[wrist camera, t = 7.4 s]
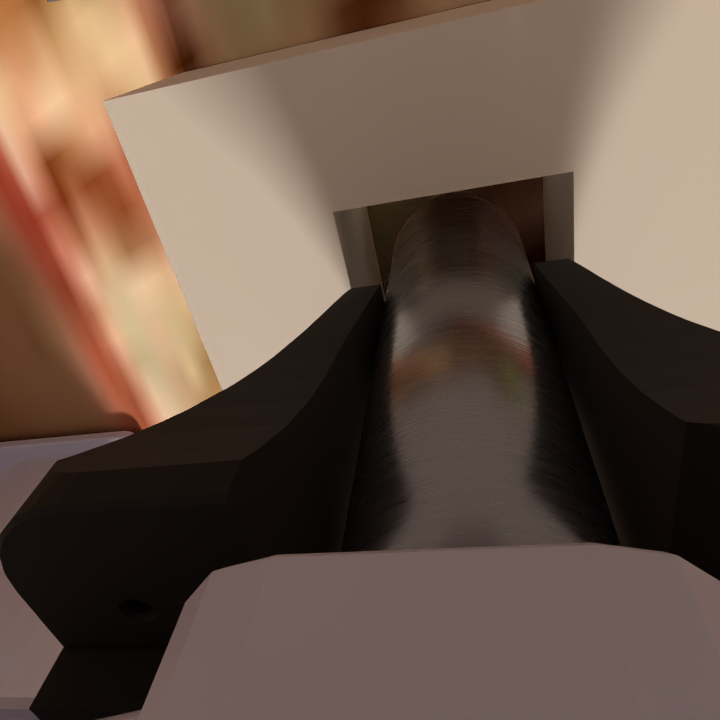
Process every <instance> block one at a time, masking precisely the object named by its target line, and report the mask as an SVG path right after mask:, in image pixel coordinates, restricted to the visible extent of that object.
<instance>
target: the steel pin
mask: <svg viewBox="0 0 720 720" xmlns="http://www.w3.org/2000/svg"><path fill="white" fill-rule="evenodd" d="M588 542H591V543H599V544H607V545H615V546H621V545H620V542H619V539H618V536H617V533H616V530H615V527H614V524H613V521H612V518H611V515H610V511H609V508H608V505H607V502H606V499H605V496H604V493H603V490H602V487H601V484H600V481H599V478H598V475H597V472H596V468H595V465H594V462H593V459H592V456H591V453H590V450H589V447H588V444H587V441H586V438H585V435H584V432H583V429H582V425H581V422H580V419H579V416H578V413H577V410H576V407H575V404H574V401H573V398H572V395H571V392H570V389H569V385H568V382H567V379H566V376H565V373H564V370H563V367H562V364H561V361H560V358H559V355H558V352H557V349H556V346H555V342H554V339H553V336H552V333H551V330H550V327H549V324H548V321H547V318H546V315H545V313H544V310H543V308H542V304H541V301H540V298H539V295H538V292H537V289H536V286H535V283H534V278H533V275H532V272H531V269H530V266H529V263H528V259H527V256H526V253H525V250H524V247H523V244H522V241H521V238H520V235H519V232H518V229H517V227H516V225H515V223H514V222H513V220H512V219H511V217H510V216H509V215H508V214H507V213H506V212H505V211H504V210H503V209H502V208H501V207H499V206H498V205H497V204H495V203H493V202H492V201H490V200H488V199H485V198H483V197H480V196H476V195H471V194H451V195H445V196H441V197H438V198H435V199H433V200H430V201H428V202H427V203H425V204H423V205H422V206H420V207H419V208H418V209H416V210H415V211H414V212H413V213H412V214H411V215H410V216H409V217H408V218H407V220H406V221H405V222H404V223H403V225H402V227H401V229H400V230H399V233H398V235H397V238H396V241H395V245H394V251H393V257H392V262H391V268H390V274H389V280H388V285H387V291H386V297H385V302H384V308H383V314H382V320H381V325H380V331H379V337H378V342H377V348H376V354H375V360H374V365H373V371H372V377H371V383H370V388H369V394H368V400H367V405H366V411H365V417H364V423H363V428H362V434H361V440H360V445H359V451H358V457H357V463H356V468H355V474H354V480H353V485H352V491H351V497H350V503H349V508H348V514H347V520H346V526H345V531H344V537H343V543H342V548H341V552H360V551H386V550H411V549H436V548H461V547H487V546H512V545H537V544H562V543H588Z"/></svg>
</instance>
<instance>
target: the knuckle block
mask: <svg viewBox="0 0 720 720" xmlns="http://www.w3.org/2000/svg"><path fill="white" fill-rule="evenodd" d="M103 102H104V105H105V107H106V109H107V112H108V114H109V117H110V119H111V122H112V124H113V126H114V129H115V131H116V134H117V136H118V139H119V141H120V143H121V146H122V148H123V151H124V153H125V155H126V158H127V160H128V163H129V165H130V168H131V170H132V172H133V175H134V177H135V180H136V182H137V185H138V187H139V189H140V192H141V194H142V197H143V199H144V201H145V204H146V206H147V209H148V211H149V214H150V216H151V218H152V221H153V223H154V226H155V228H156V231H157V233H158V235H159V238H160V240H161V243H162V245H163V247H164V250H165V252H166V255H167V257H168V260H169V262H170V264H171V267H172V269H173V272H174V274H175V276H176V279H177V281H178V284H179V286H180V289H181V291H182V293H183V296H184V298H185V301H186V303H187V306H188V308H189V310H190V313H191V315H192V318H193V320H194V322H195V325H196V327H197V330H198V332H199V335H200V337H201V339H202V342H203V344H204V347H205V349H206V352H207V354H208V356H209V359H210V361H211V364H212V366H213V368H214V371H215V373H216V376H217V378H218V381H219V383H220V385H221V388H222V390H225V389H226V388H228V387H230V386H232V385H233V384H235V383H236V382H238V381H240V380H241V379H243V378H244V377H246V376H247V375H249V374H250V373H252V372H253V371H255V370H256V369H258V368H259V367H260V366H262V365H263V364H264V363H266V362H267V361H269V360H270V359H271V358H272V357H274V356H275V355H276V354H277V353H279V352H280V351H281V350H282V349H283V348H285V347H286V346H287V345H288V344H289V343H291V342H292V341H293V340H294V339H295V338H297V337H298V336H299V335H300V334H301V333H302V332H304V331H305V330H306V329H307V328H308V327H309V326H310V325H311V324H312V323H313V322H314V321H315V320H317V319H318V318H319V317H320V316H321V315H322V314H323V313H324V312H325V311H326V310H327V309H328V308H329V307H330V306H331V305H332V304H333V303H335V302H336V301H337V300H338V299H339V298H340V297H341V296H342V295H343V294H344V293H346V292H347V291H348V290H350V289H351V288H358V287H365V286H372V285H380V284H381V288H382V292H383V297H384V302H385V294H384V289H383V284H382V279H381V274H380V269H379V265H378V260H377V255H376V250H375V245H374V240H373V235H372V230H371V225H370V220H369V215H368V210H367V206H371V205H377V204H383V203H389V202H395V201H401V200H407V199H413V198H419V197H425V196H431V195H437V194H443V193H449V192H455V191H461V190H466V189H472V188H478V187H484V186H490V185H496V184H502V183H508V182H514V181H520V180H526V179H532V178H538V177H543V204H544V233H545V261H553V260H560V259H567V258H568V259H570V260H573V261H574V262H576V263H578V264H580V265H581V266H583V267H585V268H586V269H588V270H590V271H591V272H593V273H595V274H596V275H598V276H600V277H601V278H603V279H605V280H606V281H608V282H610V283H612V284H613V285H615V286H617V287H619V288H620V289H622V290H624V291H626V292H628V293H630V294H632V295H634V296H635V297H637V298H639V299H641V300H643V301H645V302H647V303H650V304H652V305H654V306H656V307H658V308H660V309H663V310H665V311H667V312H669V313H671V314H674V315H676V316H679V317H681V318H684V319H686V320H689V321H691V322H694V323H697V324H700V325H703V326H706V327H708V328H711V329H714V330H717V331H720V0H490V1H486V2H482V3H477V4H473V5H469V6H465V7H460V8H456V9H452V10H448V11H443V12H439V13H435V14H430V15H426V16H422V17H418V18H413V19H409V20H405V21H401V22H396V23H392V24H388V25H384V26H379V27H375V28H371V29H366V30H362V31H358V32H354V33H349V34H345V35H341V36H337V37H332V38H328V39H324V40H319V41H315V42H311V43H307V44H302V45H298V46H294V47H290V48H285V49H281V50H277V51H273V52H268V53H264V54H260V55H255V56H251V57H247V58H243V59H238V60H234V61H230V62H226V63H221V64H217V65H213V66H209V67H204V68H200V69H196V70H191V71H187V72H183V73H180V74H178V75H175V76H172V77H169V78H166V79H164V80H161V81H158V82H155V83H152V84H150V85H147V86H144V87H141V88H139V89H136V90H133V91H130V92H127V93H125V94H122V95H119V96H116V97H113V98H111V99H108V100H105V101H103Z"/></svg>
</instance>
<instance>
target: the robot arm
mask: <svg viewBox="0 0 720 720" xmlns="http://www.w3.org/2000/svg"><path fill="white" fill-rule="evenodd" d="M534 283H535V286H536V289H537V292H538V295H539V298H540V301H541V304H542V308H543V310H544V313H545V315H546V318H547V321H548V324H549V327H550V330H551V333H552V336H553V339H554V342H555V346H556V349H557V352H558V355H559V358H560V361H561V364H562V367H563V370H564V373H565V376H566V379H567V382H568V385H569V389H570V392H571V395H572V398H573V401H574V404H575V407H576V410H577V413H578V416H579V419H580V422H581V425H582V429H583V432H584V435H585V438H586V441H587V444H588V447H589V450H590V453H591V456H592V459H593V462H594V465H595V468H596V472H597V475H598V478H599V481H600V484H601V487H602V490H603V493H604V496H605V499H606V502H607V505H608V508H609V511H610V515H611V518H612V521H613V524H614V527H615V530H616V533H617V536H618V539H619V542H620V545H621V546H615V545H607V544H599V543H591V542H588V543H562V544H537V545H512V546H487V547H461V548H436V549H411V550H386V551H360V552H341V548H342V543H343V537H344V531H345V526H346V520H347V514H348V508H349V503H350V497H351V491H352V485H353V480H354V474H355V468H356V463H357V457H358V451H359V445H360V440H361V434H362V428H363V423H364V417H365V411H366V405H367V400H368V394H369V388H370V383H371V377H372V371H373V365H374V360H375V354H376V348H377V342H378V337H379V331H380V325H381V320H382V314H383V308H384V297H383V292H382V288H381V284H380V285H372V286H365V287H358V288H351V289H350V290H348V291H347V292H346V293H344V294H343V295H342V296H341V297H340V298H339V299H338V300H337V301H336V302H335V303H333V304H332V305H331V306H330V307H329V308H328V309H327V310H326V311H325V312H324V313H323V314H322V315H321V316H320V317H319V318H318V319H317V320H315V321H314V322H313V323H312V324H311V325H310V326H309V327H308V328H307V329H306V330H305V331H304V332H302V333H301V334H300V335H299V336H298V337H297V338H295V339H294V340H293V341H292V342H291V343H289V344H288V345H287V346H286V347H285V348H283V349H282V350H281V351H280V352H279V353H277V354H276V355H275V356H274V357H272V358H271V359H270V360H269V361H267V362H266V363H264V364H263V365H262V366H260V367H259V368H258V369H256V370H255V371H253V372H252V373H250V374H249V375H247V376H246V377H244V378H243V379H241V380H240V381H238V382H236V383H235V384H233V385H232V386H230V387H228V388H226V389H225V390H223V391H221V392H219V393H217V394H216V395H214V396H212V397H210V398H208V399H207V400H205V401H203V402H201V403H199V404H197V405H196V406H194V407H192V408H190V409H188V410H186V411H184V412H182V413H180V414H178V415H176V416H173V417H171V418H169V419H167V420H165V421H163V422H160V423H158V424H156V425H153V426H151V427H149V428H146V429H144V430H142V431H139V432H137V433H133V432H130V431H116V432H105V433H95V434H84V435H73V436H62V437H52V438H41V439H30V440H19V441H8V442H0V720H720V331H717V330H714V329H711V328H708V327H706V326H703V325H700V324H697V323H694V322H691V321H689V320H686V319H684V318H681V317H679V316H676V315H674V314H671V313H669V312H667V311H665V310H663V309H660V308H658V307H656V306H654V305H652V304H650V303H647V302H645V301H643V300H641V299H639V298H637V297H635V296H634V295H632V294H630V293H628V292H626V291H624V290H622V289H620V288H619V287H617V286H615V285H613V284H612V283H610V282H608V281H606V280H605V279H603V278H601V277H600V276H598V275H596V274H595V273H593V272H591V271H590V270H588V269H586V268H585V267H583V266H581V265H580V264H578V263H576V262H574V261H573V260H570V259H568V258H567V259H560V260H553V261H546V262H538V263H534Z"/></svg>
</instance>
